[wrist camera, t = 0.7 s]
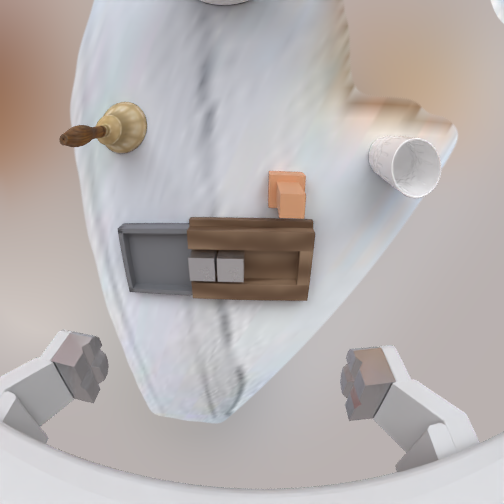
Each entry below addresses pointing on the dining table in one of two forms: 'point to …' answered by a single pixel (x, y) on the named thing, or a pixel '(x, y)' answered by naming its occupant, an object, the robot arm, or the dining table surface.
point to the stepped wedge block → (287, 193)
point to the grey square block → (203, 265)
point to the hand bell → (112, 129)
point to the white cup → (406, 164)
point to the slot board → (257, 256)
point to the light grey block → (230, 266)
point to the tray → (156, 257)
